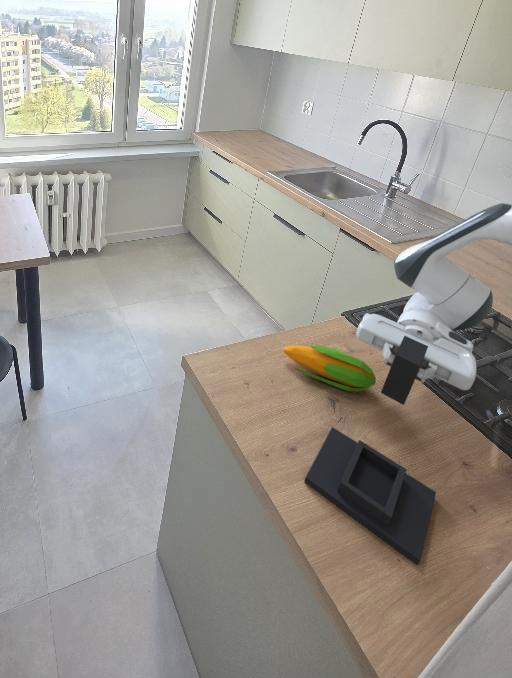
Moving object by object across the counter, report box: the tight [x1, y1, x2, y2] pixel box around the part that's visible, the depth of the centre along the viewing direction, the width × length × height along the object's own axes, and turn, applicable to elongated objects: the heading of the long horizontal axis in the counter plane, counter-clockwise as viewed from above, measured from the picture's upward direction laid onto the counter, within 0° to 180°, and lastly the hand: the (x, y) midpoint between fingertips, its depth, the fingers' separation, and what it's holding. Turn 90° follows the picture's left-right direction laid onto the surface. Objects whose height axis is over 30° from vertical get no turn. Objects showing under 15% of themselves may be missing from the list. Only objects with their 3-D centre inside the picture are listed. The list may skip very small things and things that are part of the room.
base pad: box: [303, 426, 437, 566], centre depth 75 cm, size 18×14×4 cm
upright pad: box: [380, 336, 428, 406], centre depth 81 cm, size 4×7×10 cm, turn 137°
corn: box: [283, 344, 377, 392], centre depth 97 cm, size 7×8×20 cm
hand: (404, 370), depth 80 cm, fingers closed on upright pad, 4 cm apart
